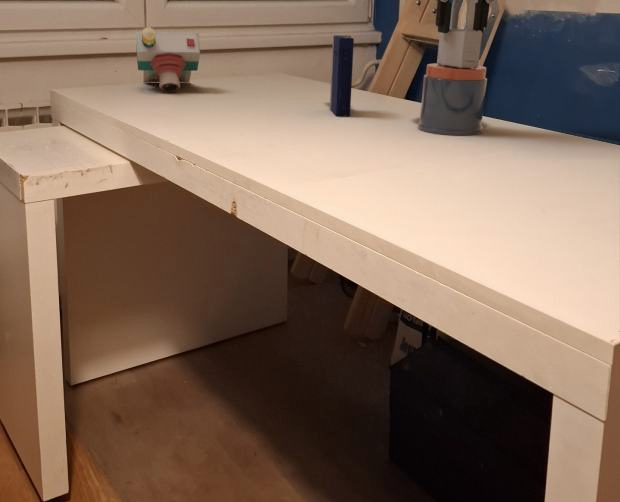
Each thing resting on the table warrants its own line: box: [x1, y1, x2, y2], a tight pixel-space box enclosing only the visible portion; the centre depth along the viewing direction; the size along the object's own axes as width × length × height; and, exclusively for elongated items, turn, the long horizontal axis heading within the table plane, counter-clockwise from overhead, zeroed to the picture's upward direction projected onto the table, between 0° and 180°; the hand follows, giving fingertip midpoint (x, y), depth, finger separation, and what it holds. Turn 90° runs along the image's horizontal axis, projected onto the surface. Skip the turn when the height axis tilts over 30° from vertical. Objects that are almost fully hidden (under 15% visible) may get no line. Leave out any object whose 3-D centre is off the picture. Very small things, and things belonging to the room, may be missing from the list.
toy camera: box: [135, 26, 201, 92], centre depth 143 cm, size 11×9×20 cm
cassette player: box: [329, 34, 355, 117], centre depth 123 cm, size 7×2×12 cm, turn 7°
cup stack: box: [416, 62, 488, 136], centre depth 112 cm, size 10×10×9 cm
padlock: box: [436, 0, 483, 69], centre depth 108 cm, size 7×4×10 cm, turn 20°
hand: (460, 31), depth 108 cm, fingers open, 4 cm apart
